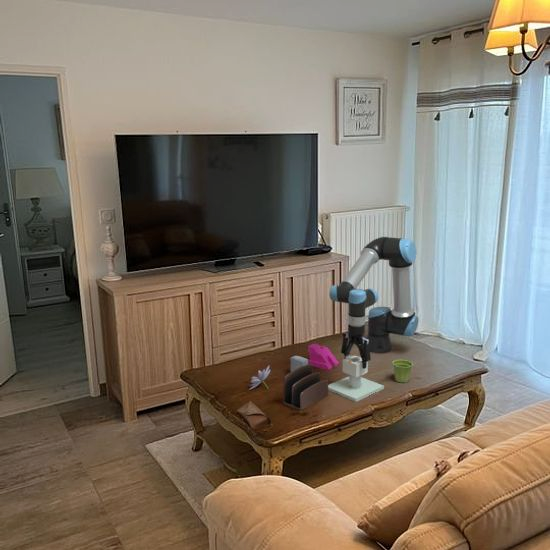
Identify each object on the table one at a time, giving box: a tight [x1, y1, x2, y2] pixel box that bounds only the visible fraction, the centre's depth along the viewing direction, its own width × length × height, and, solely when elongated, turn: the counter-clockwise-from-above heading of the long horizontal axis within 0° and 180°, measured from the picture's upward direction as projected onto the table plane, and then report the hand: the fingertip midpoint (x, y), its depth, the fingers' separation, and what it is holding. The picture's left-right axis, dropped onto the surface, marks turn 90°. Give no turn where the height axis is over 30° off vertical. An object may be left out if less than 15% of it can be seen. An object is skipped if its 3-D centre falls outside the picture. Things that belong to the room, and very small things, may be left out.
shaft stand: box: [328, 356, 385, 403], centre depth 258 cm, size 20×18×15 cm
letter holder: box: [282, 364, 329, 411], centre depth 248 cm, size 10×20×14 cm, turn 139°
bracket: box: [307, 343, 340, 371], centre depth 288 cm, size 12×10×10 cm
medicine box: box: [290, 355, 309, 372], centre depth 275 cm, size 8×4×9 cm, turn 47°
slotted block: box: [342, 355, 369, 377], centre depth 257 cm, size 8×8×6 cm
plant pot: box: [392, 359, 414, 383], centre depth 268 cm, size 9×9×9 cm
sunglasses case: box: [235, 400, 271, 429], centre depth 233 cm, size 18×7×7 cm
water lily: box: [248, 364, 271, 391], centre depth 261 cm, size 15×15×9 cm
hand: (355, 371), depth 258 cm, fingers closed on slotted block, 8 cm apart
